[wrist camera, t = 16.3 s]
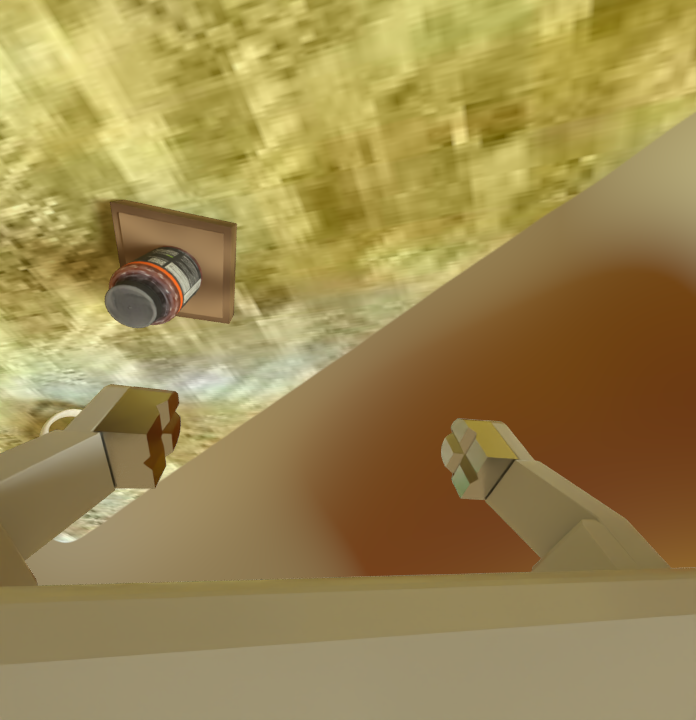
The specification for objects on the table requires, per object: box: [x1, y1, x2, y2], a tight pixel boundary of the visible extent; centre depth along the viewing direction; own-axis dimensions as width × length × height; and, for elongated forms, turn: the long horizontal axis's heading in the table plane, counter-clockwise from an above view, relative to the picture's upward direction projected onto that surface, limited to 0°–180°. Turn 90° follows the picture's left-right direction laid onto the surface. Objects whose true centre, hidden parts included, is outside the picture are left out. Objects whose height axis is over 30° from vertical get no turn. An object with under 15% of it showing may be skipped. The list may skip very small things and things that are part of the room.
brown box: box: [110, 200, 237, 324], centre depth 37 cm, size 12×12×3 cm
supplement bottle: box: [105, 246, 202, 328], centre depth 30 cm, size 6×6×11 cm
